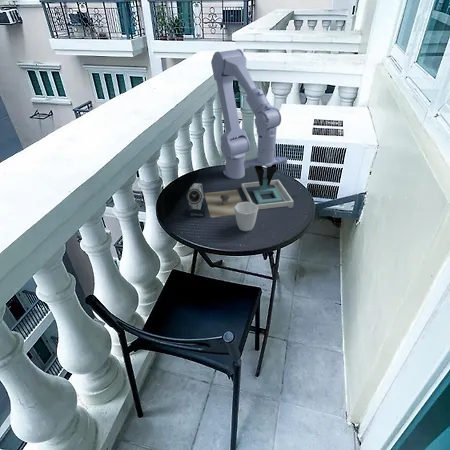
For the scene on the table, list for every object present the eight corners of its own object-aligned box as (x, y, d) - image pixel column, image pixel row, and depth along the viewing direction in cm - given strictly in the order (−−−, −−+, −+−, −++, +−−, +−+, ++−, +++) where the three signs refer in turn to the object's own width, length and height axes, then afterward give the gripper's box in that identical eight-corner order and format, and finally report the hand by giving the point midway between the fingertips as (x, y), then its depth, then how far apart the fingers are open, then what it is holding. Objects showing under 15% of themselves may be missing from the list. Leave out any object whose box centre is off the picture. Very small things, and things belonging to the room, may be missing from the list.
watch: (186, 221, 104) (183, 191, 98) (193, 208, 111) (190, 178, 105) (204, 223, 104) (202, 192, 97) (209, 209, 110) (207, 180, 104)
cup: (233, 236, 98) (233, 213, 93) (235, 217, 106) (235, 195, 101) (257, 237, 97) (258, 214, 92) (257, 218, 105) (258, 196, 101)
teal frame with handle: (251, 190, 118) (252, 178, 115) (273, 188, 119) (274, 175, 116) (259, 205, 110) (260, 192, 107) (282, 203, 111) (283, 190, 108)
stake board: (204, 195, 118) (203, 186, 116) (237, 192, 119) (237, 183, 117) (210, 220, 105) (210, 210, 103) (247, 215, 107) (247, 206, 104)
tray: (241, 189, 121) (241, 183, 120) (278, 185, 123) (278, 179, 121) (252, 212, 108) (252, 206, 107) (293, 207, 110) (293, 201, 109)
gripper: (247, 154, 104) (246, 191, 111) (291, 150, 106) (287, 187, 113) (242, 145, 109) (242, 182, 117) (284, 142, 111) (281, 178, 119)
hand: (264, 184), depth 116 cm, fingers closed on teal frame with handle, 2 cm apart
